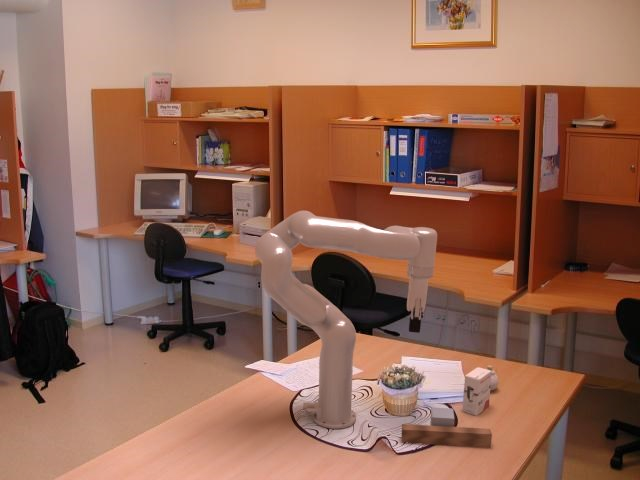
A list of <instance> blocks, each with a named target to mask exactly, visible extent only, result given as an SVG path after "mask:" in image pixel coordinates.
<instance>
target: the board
mask: <svg viewBox="0 0 640 480" xmlns="http://www.w3.org/2000/svg"><path fill="white" fill-rule="evenodd" d="M401 437H402V439H401V443H402V442H408V443H407V444H416V443H422V444H421V445H437V446H453V447H470V448H471V447H473V448H474V447H475V448H490V449H491V448H492V439H493V433H492V431H491V428H479V427H463V426H454V427H447V426H430V425H429V424H428V425H427V424H409V423H407V424H405V423H401Z"/></svg>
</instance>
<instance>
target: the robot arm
mask: <svg viewBox="0 0 640 480" xmlns="http://www.w3.org/2000/svg"><path fill="white" fill-rule="evenodd" d="M437 243H438V233H437V231H436V230H435V229H434V228H430V227H425V226H419V227H418V226H416V227H407V226H401V225H390V226H388V227H386V228H384V229H383V230H382V229H379V228H375V227H372V226H369V225H368V224H365V223H363V222H360V221H356V220H351V219H343V218H333V217H326V216H320V215H319V216H318V215H315V214H314V213H313V212H311V211H308V210H299V211H297V212H294V213H292V214H291V215H289V216H288V217H286V218H285V219H284V220H282V221H281V222H279V223H277V224H276V225H275V226H274V227H272V228H271V229H269V230H268V231H266V232H265V233H263V234H262V235H261V236H260V237H259V238H258V239H257V241H256V243H255V245H254V253H255V257H256V258H257V259H258V261H259V262H260V264H261V274H260V275H261V277H260V278H261V279H260V280H261V284H262V288H263V290H264V291H265V293H266V294H267V295H268V296H269V297H270V298H271V299H272V300H273V301H274V302H276V303H277V304H278V305H279V306H280V307H281V308H282V309H284V310H285V311H286V312H288V313H289V314H290V315H291V316H292V317H293V318H294V319H295V320H296V321H297V322H298V323H300V324H302V325H303V326H305V327H309V328H310V329H312V331H314V332H315V333H316V335H318V337H319V339H320V340H321V350H320V352H319V353H320V354H319V361H318V363H319V364H318V365H319V366H318V368H319V369H318V371H319V372H318V399H317V402H316V401H315V402H313V403H312V402H303V403H302V409H303V410H305V411H306V412H305V413H312V420H313V421H314V423H316V424H317V425H318V426H320V427H322V428H326V429H335V430H339V429H345V428H348V427H351V426H352V425H354V424H355V423H356V422H357V414H356V412H355V411H354V410H353V409H352V395H353V393H352V392H353V364H354V352H355V347H356V342H357V341H356V340H357V331H356V329H355V326H354V324H353V323H352V321H351V320H350V318H348V317H347V316H346V315H345V314H344V313H343V312H342V311H341V310H340V309H339V308H338V306H336V305H334V304H333V303H332V302H331V301H330V300H328V298H326V297H325V296H324V295H323V294H321V293H320V292H319V291H318V290H317V289H315V288H314V287H312V286H311V285H309V284H307V283H303V282H301V281H300V280H299V279H298V278H297V277H296V276H295V275H294V274H293V273H292V272H293V270H292V269H293V264H294V263H293V261H294V256H293V252H292V250H293V249H295V248H296V247H298V245H300V244H301V245H302V246H304V247H307V248H313V249H322V250H323V249H324V250H334V251H344V252H350V253H351V252H352V253H354V254H357V255H359V254H360V255H365V256H371V257H375V258H379V259H386V260H387V259H388V260H397V261H407V267H406V276H408V278H409V281H408V289H407V300H406V310H407V311H408V312H410V317H409V321H408V332H409V333H417V334H419V333H421V326H422V325H421V324H422V313H424V312H425V308H426V303H427V298H428V297H427V296H428V289H429V280H431V279H433V278H434V273H435V272H434V271H435V262H436V254H437Z"/></svg>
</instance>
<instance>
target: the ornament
mask: <svg viewBox="0 0 640 480" xmlns="http://www.w3.org/2000/svg"><path fill="white" fill-rule="evenodd" d="M486 367H487V368H486V369H487V370H490V371H492V374H491V386H490V392H491V391H493V390H495V389H496V388H497V387H498V386H499V378H498V376H497V373H498V371H497V368H496V369H493V368H494V367H496V365H495V363H493V364H492V365H490V364H488V365H487V366H486Z"/></svg>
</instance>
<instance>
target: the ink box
mask: <svg viewBox="0 0 640 480" xmlns="http://www.w3.org/2000/svg"><path fill="white" fill-rule="evenodd" d="M487 369H488V368H482V367H476V368H474V369H473V370H472V371H469V372H468V373H467V374H465V375H464V384H463V386H464V387H463V397H462V399H463V400H462V410H461V411H462V412H463V413H466V414H470V415H472V416H475V417H477V416H478V415H479V414H480V413H482V412H483V411H484V410H486V409H487V408H488V407H489V406H490V396H491V391H490V386H491V374H492V371H490V370H487Z"/></svg>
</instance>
